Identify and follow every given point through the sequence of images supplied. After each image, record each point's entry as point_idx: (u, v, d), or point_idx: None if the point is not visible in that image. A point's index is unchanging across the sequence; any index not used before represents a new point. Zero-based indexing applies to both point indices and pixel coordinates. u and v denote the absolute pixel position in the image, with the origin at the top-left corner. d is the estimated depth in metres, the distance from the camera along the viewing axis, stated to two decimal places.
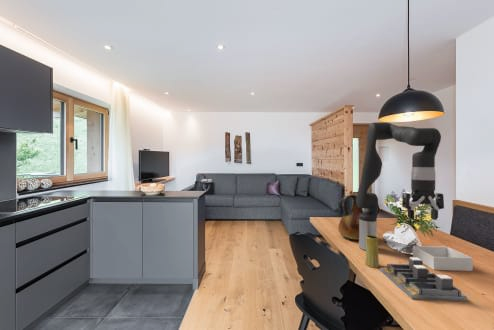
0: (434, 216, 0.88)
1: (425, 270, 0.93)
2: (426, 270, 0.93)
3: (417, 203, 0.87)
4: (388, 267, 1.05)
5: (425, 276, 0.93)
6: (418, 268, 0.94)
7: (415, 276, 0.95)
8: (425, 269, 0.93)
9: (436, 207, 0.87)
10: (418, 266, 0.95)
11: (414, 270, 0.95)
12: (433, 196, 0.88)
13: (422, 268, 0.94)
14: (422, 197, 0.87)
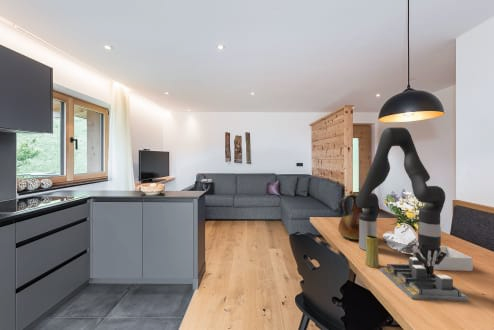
0: (430, 271, 0.94)
1: (424, 270, 0.93)
2: (425, 270, 0.93)
3: (429, 258, 0.93)
4: (388, 267, 1.05)
5: (424, 276, 0.93)
6: (417, 268, 0.94)
7: (414, 276, 0.95)
8: (424, 269, 0.93)
9: (432, 263, 0.93)
10: (417, 266, 0.95)
11: (413, 270, 0.95)
12: (438, 250, 0.93)
13: (421, 268, 0.94)
14: (429, 252, 0.93)
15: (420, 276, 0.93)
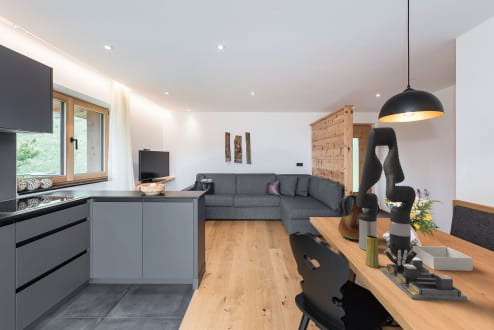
0: (400, 270, 0.95)
1: (415, 270, 0.94)
2: (416, 270, 0.94)
3: (399, 258, 0.94)
4: (388, 267, 1.05)
5: (414, 276, 0.94)
6: (408, 268, 0.94)
7: (405, 276, 0.95)
8: (415, 269, 0.94)
9: (402, 262, 0.94)
10: (408, 266, 0.95)
11: (404, 270, 0.96)
12: (408, 250, 0.94)
13: (412, 268, 0.94)
14: (398, 251, 0.93)
15: (411, 276, 0.94)
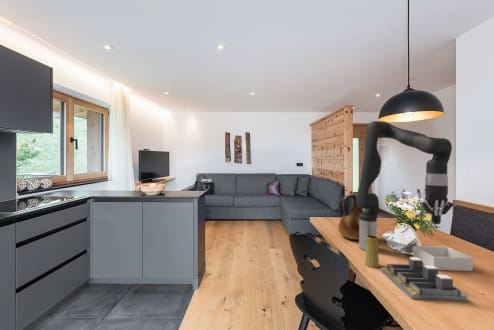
0: (437, 221, 0.96)
1: (436, 271, 0.93)
2: (437, 270, 0.93)
3: (436, 208, 0.95)
4: (388, 267, 1.05)
5: None
6: (429, 268, 0.93)
7: (426, 276, 0.94)
8: (436, 269, 0.93)
9: (439, 213, 0.96)
10: (429, 266, 0.95)
11: (425, 270, 0.95)
12: (445, 200, 0.96)
13: (433, 268, 0.93)
14: (436, 201, 0.95)
15: (432, 276, 0.93)
